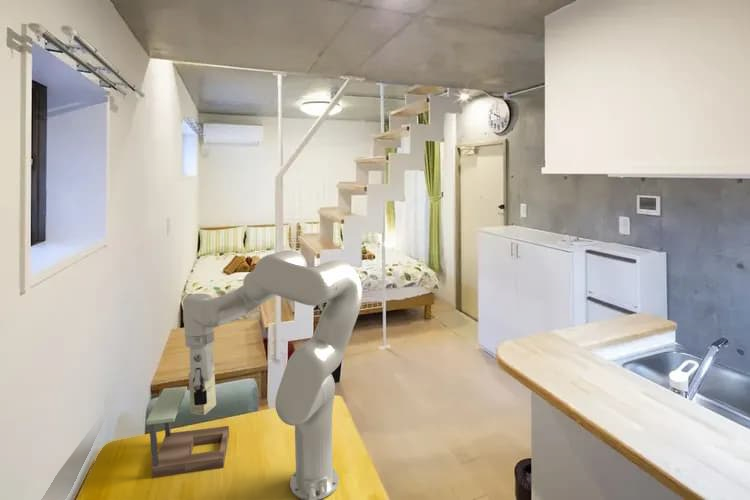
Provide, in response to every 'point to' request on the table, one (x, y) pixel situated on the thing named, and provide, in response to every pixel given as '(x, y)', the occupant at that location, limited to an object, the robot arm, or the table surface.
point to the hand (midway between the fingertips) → (203, 396)
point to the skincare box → (210, 396)
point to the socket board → (182, 440)
